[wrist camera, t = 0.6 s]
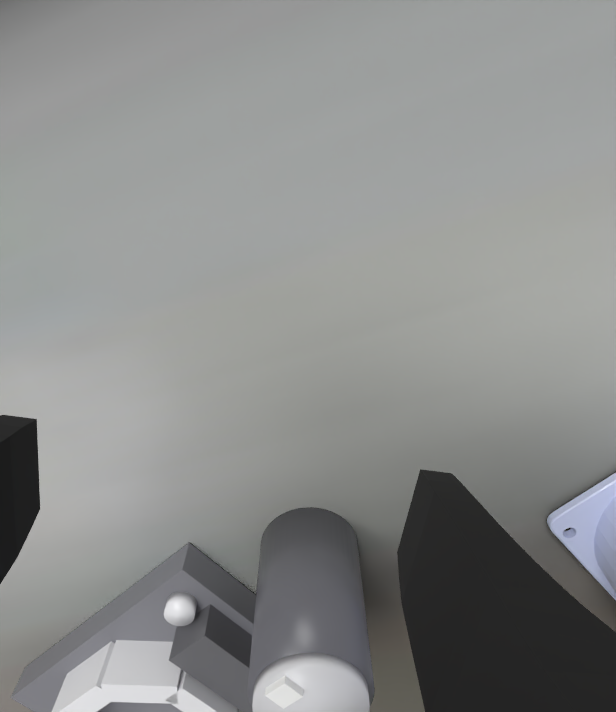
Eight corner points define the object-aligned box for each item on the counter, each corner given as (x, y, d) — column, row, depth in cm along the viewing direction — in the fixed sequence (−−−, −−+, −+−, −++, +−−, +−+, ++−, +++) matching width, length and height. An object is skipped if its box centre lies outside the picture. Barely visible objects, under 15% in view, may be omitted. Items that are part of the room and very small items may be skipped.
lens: (377, 548, 25) (404, 718, 18) (305, 596, 26) (306, 773, 19) (313, 491, 23) (316, 650, 17) (240, 543, 24) (217, 712, 18)
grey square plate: (332, 655, 27) (336, 731, 24) (169, 757, 30) (153, 836, 27) (189, 542, 24) (171, 611, 21) (25, 667, 27) (-12, 743, 24)
